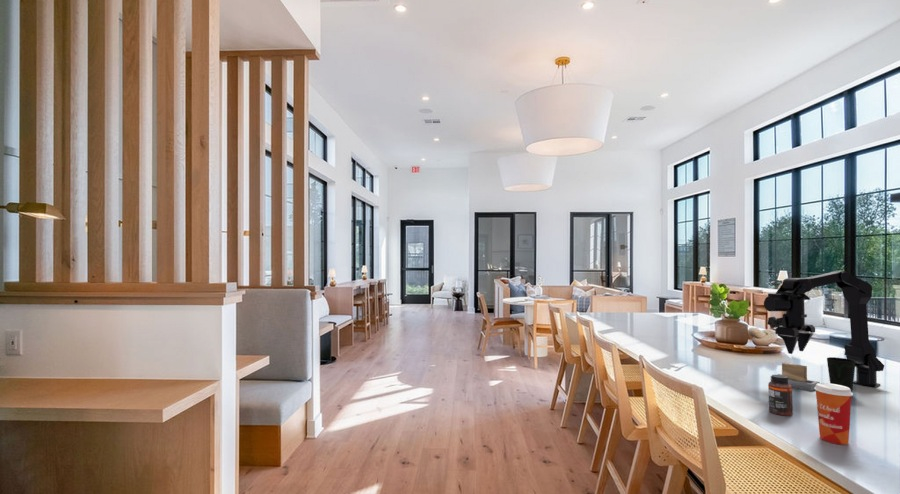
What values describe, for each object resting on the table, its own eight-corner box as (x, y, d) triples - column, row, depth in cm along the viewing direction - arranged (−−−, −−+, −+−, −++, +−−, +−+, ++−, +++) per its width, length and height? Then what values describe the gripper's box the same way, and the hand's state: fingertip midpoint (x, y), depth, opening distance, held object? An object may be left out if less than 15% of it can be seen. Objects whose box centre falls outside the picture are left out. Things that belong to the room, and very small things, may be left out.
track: (779, 380, 173) (779, 373, 173) (819, 388, 162) (819, 381, 162) (770, 382, 170) (770, 376, 170) (811, 391, 158) (811, 384, 159)
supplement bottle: (788, 411, 137) (787, 374, 137) (796, 417, 131) (795, 379, 132) (765, 408, 139) (765, 372, 139) (772, 414, 133) (772, 377, 133)
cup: (844, 390, 159) (844, 357, 160) (862, 397, 152) (861, 362, 152) (821, 389, 160) (821, 356, 161) (838, 396, 153) (837, 361, 153)
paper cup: (807, 434, 118) (806, 382, 118) (833, 434, 118) (832, 382, 119) (835, 447, 110) (834, 391, 110) (863, 446, 111) (862, 390, 111)
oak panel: (785, 380, 170) (785, 362, 170) (807, 385, 164) (806, 366, 164) (782, 381, 168) (781, 363, 169) (804, 385, 162) (803, 366, 163)
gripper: (781, 308, 179) (782, 346, 179) (759, 310, 170) (760, 351, 169) (815, 310, 170) (816, 351, 169) (793, 313, 160) (794, 356, 160)
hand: (795, 352), depth 167 cm, fingers open, 9 cm apart
